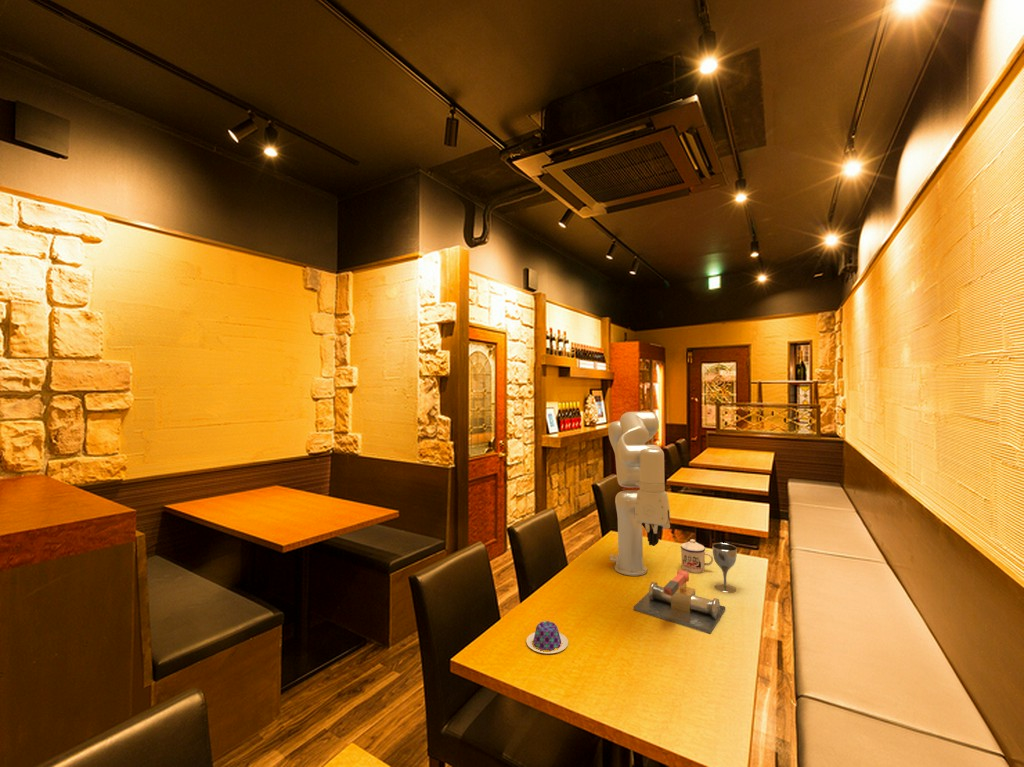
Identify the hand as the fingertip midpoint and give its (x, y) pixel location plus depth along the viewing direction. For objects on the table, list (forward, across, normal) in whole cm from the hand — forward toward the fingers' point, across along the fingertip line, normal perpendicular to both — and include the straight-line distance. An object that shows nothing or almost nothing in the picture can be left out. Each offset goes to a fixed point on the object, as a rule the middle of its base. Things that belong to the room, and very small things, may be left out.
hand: (653, 544), depth 144 cm
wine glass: (+23, +13, +35) cm, 44 cm away
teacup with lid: (+23, 0, +46) cm, 52 cm away
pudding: (+24, -19, -33) cm, 45 cm away
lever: (+13, +6, +4) cm, 15 cm away
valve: (+23, +5, +9) cm, 25 cm away
